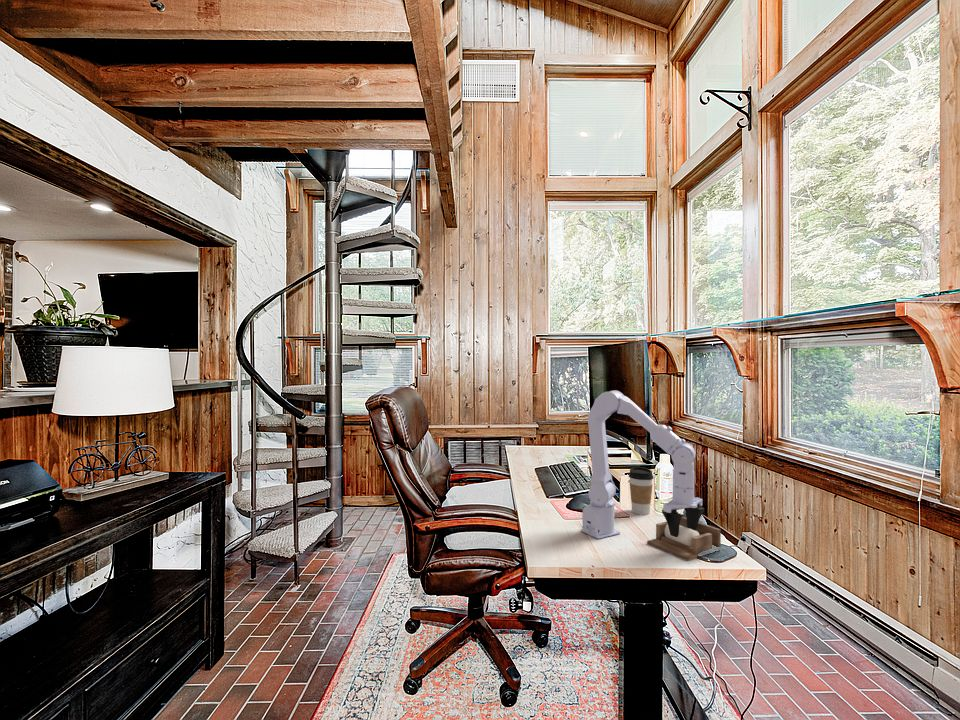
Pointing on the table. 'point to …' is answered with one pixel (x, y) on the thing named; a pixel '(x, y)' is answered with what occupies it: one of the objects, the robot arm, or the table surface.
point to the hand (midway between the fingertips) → (682, 533)
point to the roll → (682, 535)
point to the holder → (699, 544)
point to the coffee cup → (640, 489)
